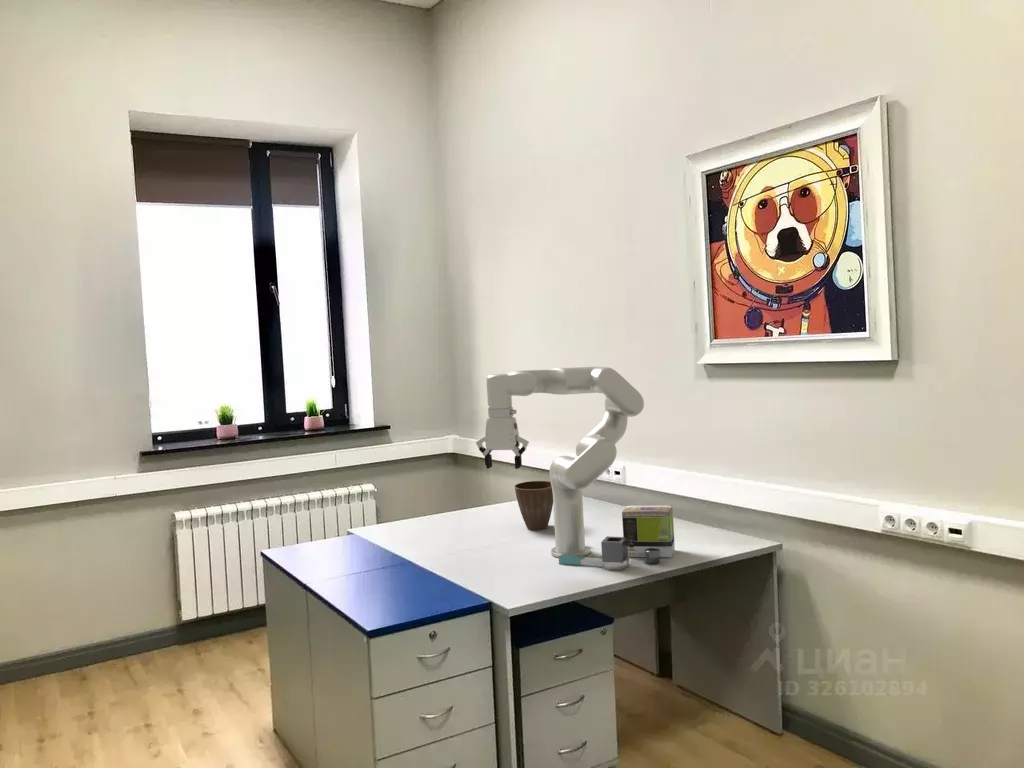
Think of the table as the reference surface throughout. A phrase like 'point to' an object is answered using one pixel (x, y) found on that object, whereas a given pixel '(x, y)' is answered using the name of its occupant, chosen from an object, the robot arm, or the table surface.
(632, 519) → the tea box
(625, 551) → the socket
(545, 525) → the plant pot
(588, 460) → the robot arm
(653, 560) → the socket
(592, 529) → the table surface
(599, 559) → the ratchet
